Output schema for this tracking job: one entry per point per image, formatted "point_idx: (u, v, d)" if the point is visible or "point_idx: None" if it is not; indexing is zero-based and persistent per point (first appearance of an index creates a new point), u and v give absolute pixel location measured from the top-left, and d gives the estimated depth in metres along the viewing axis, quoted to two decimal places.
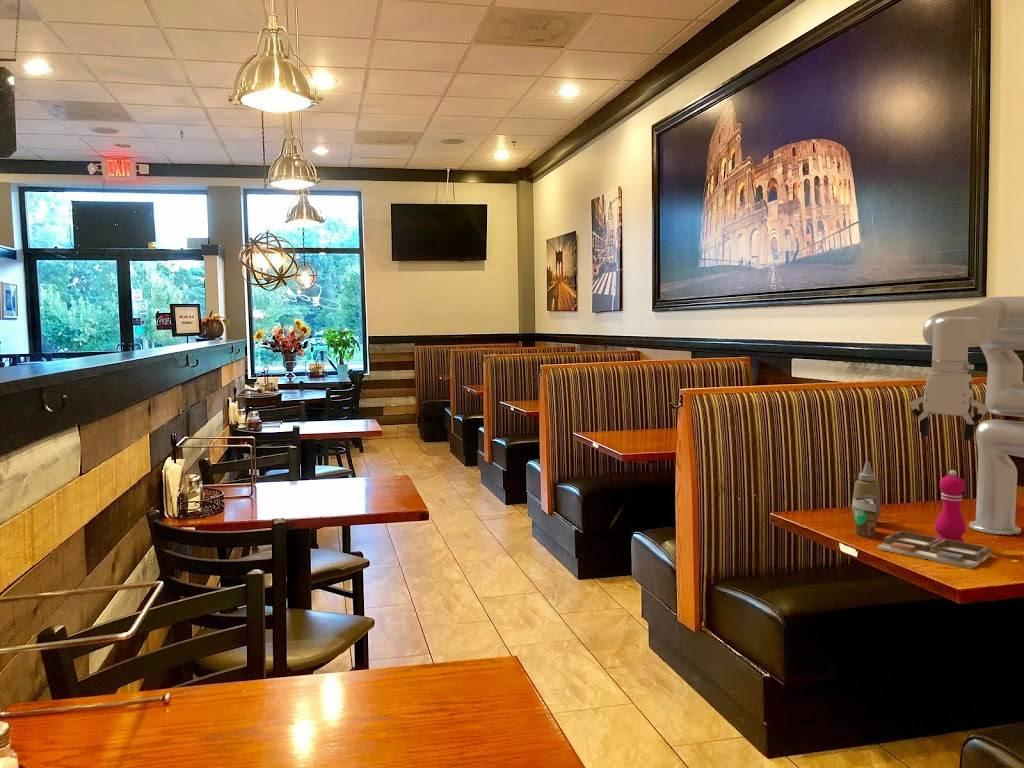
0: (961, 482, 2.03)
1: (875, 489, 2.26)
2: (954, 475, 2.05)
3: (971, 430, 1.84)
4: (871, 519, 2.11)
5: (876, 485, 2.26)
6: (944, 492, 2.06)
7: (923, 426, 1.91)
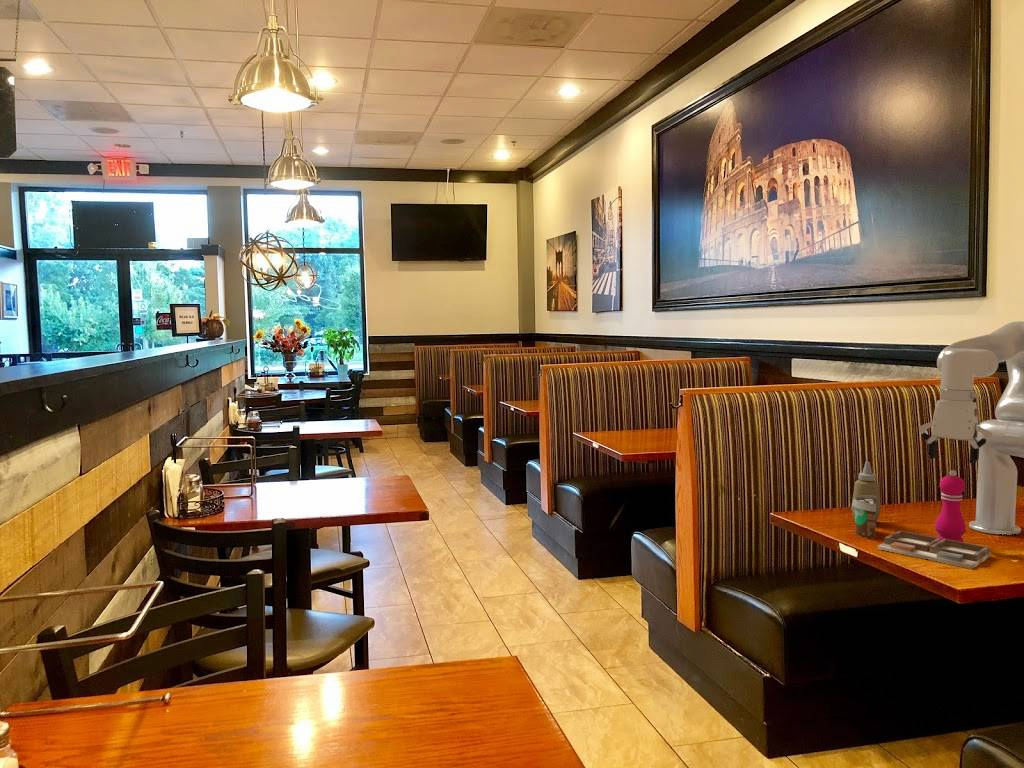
0: (961, 482, 2.03)
1: (875, 489, 2.26)
2: (954, 475, 2.05)
3: (976, 454, 2.00)
4: (871, 519, 2.11)
5: (876, 485, 2.26)
6: (944, 492, 2.06)
7: (931, 449, 2.07)
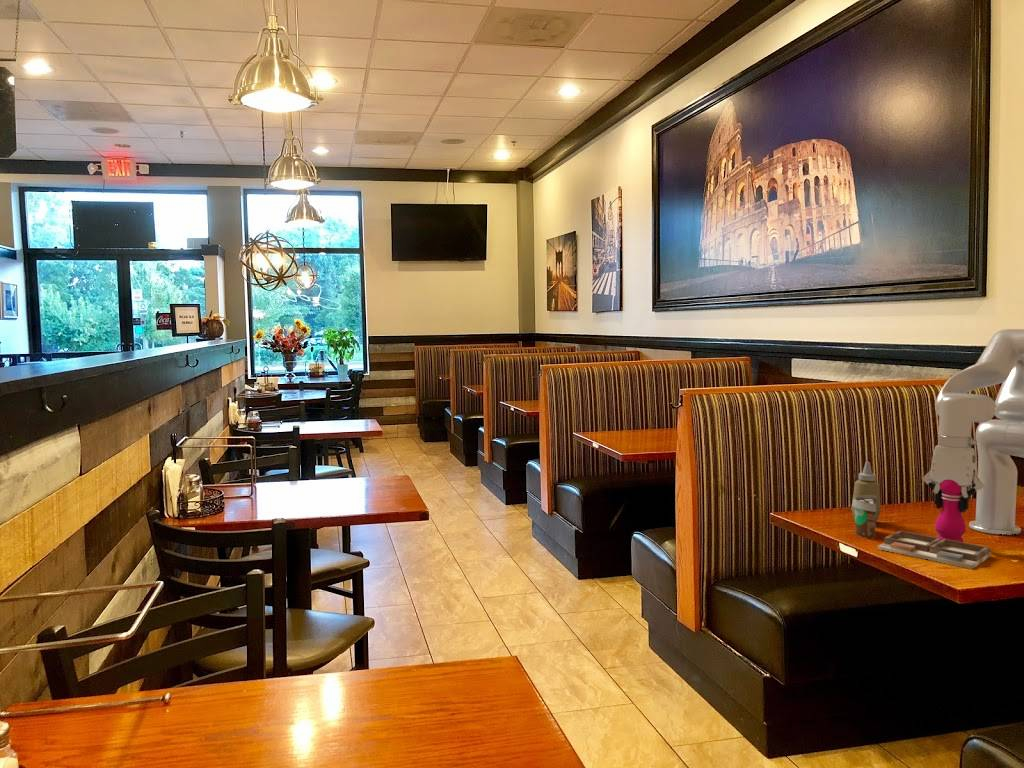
0: None
1: (875, 489, 2.26)
2: None
3: (966, 503, 2.03)
4: (871, 519, 2.11)
5: (876, 485, 2.26)
6: (944, 492, 2.06)
7: (938, 499, 2.07)
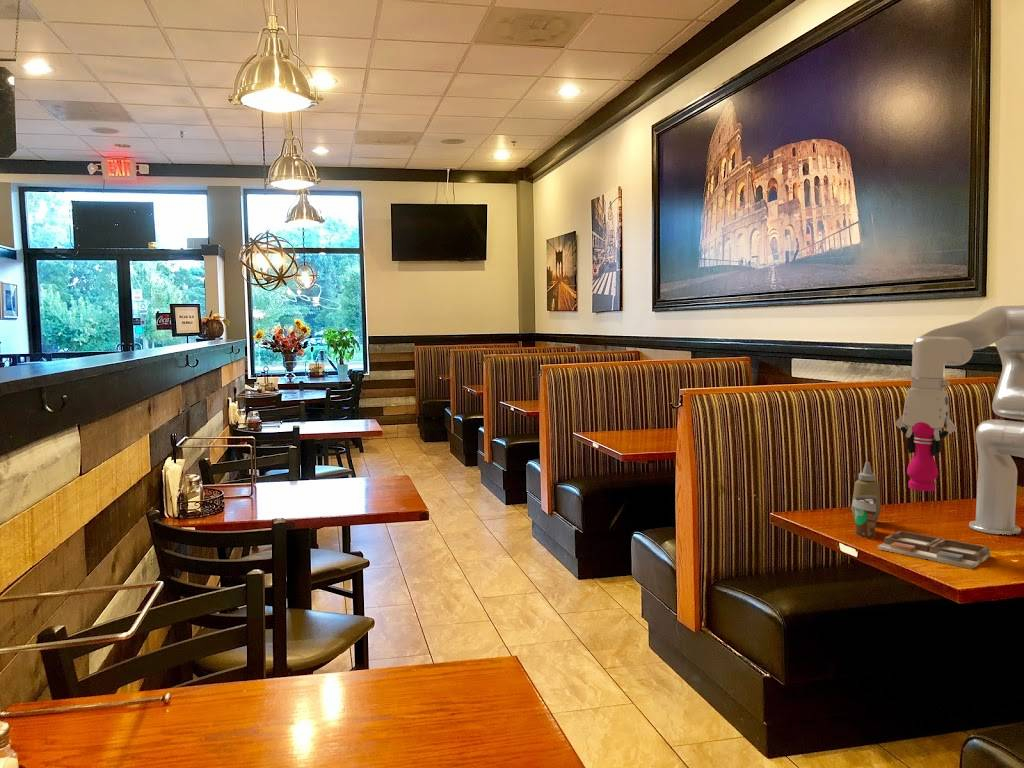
0: None
1: (875, 489, 2.26)
2: None
3: (938, 446, 1.99)
4: (871, 519, 2.11)
5: (876, 485, 2.26)
6: (916, 435, 2.01)
7: (910, 443, 2.03)
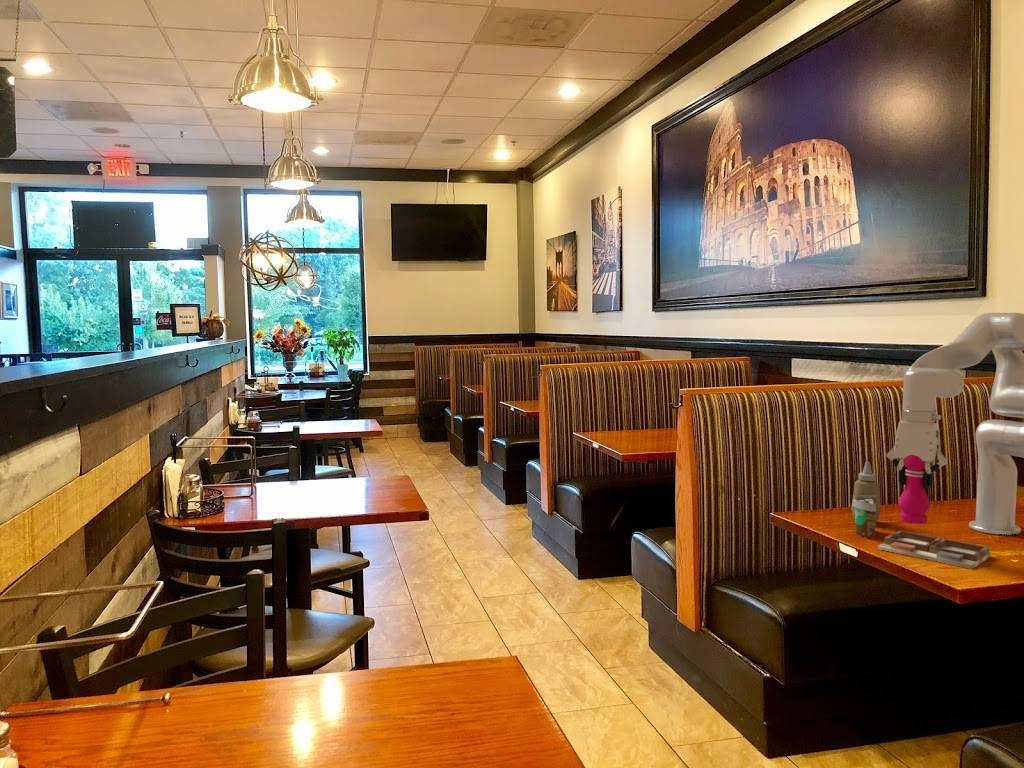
0: None
1: (875, 489, 2.26)
2: None
3: (929, 479, 1.99)
4: (871, 519, 2.11)
5: (876, 485, 2.26)
6: (908, 468, 2.01)
7: (902, 476, 2.03)
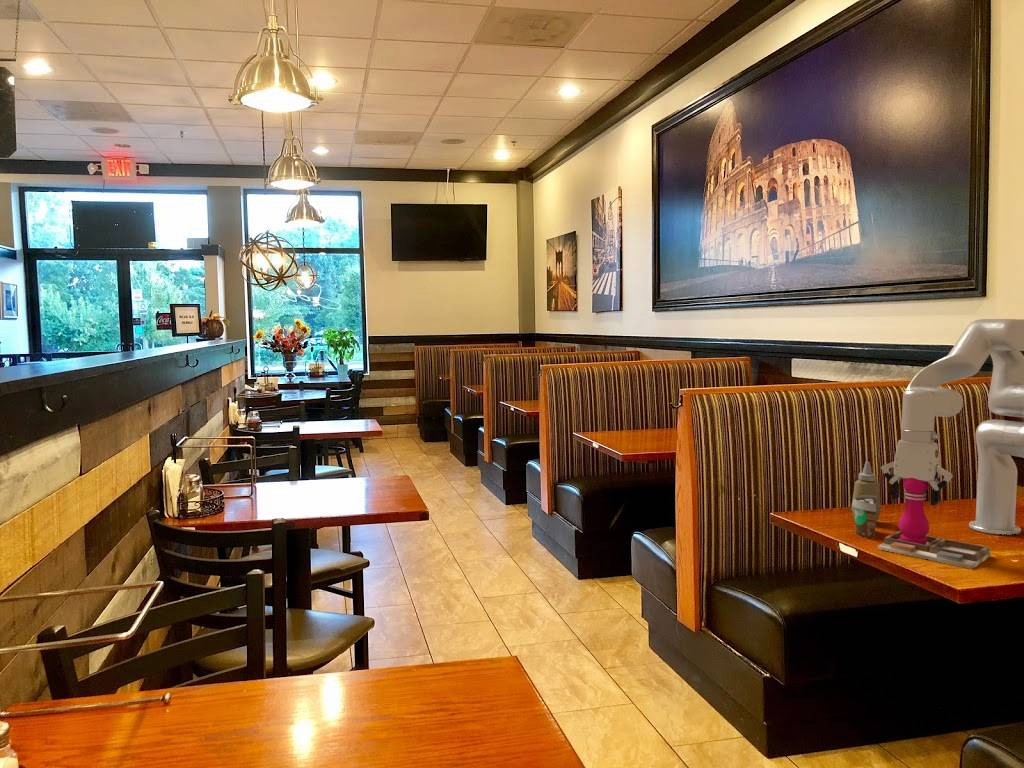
0: None
1: (875, 489, 2.26)
2: None
3: (937, 496, 1.98)
4: (871, 519, 2.11)
5: (876, 485, 2.26)
6: (907, 491, 2.02)
7: (894, 490, 2.05)
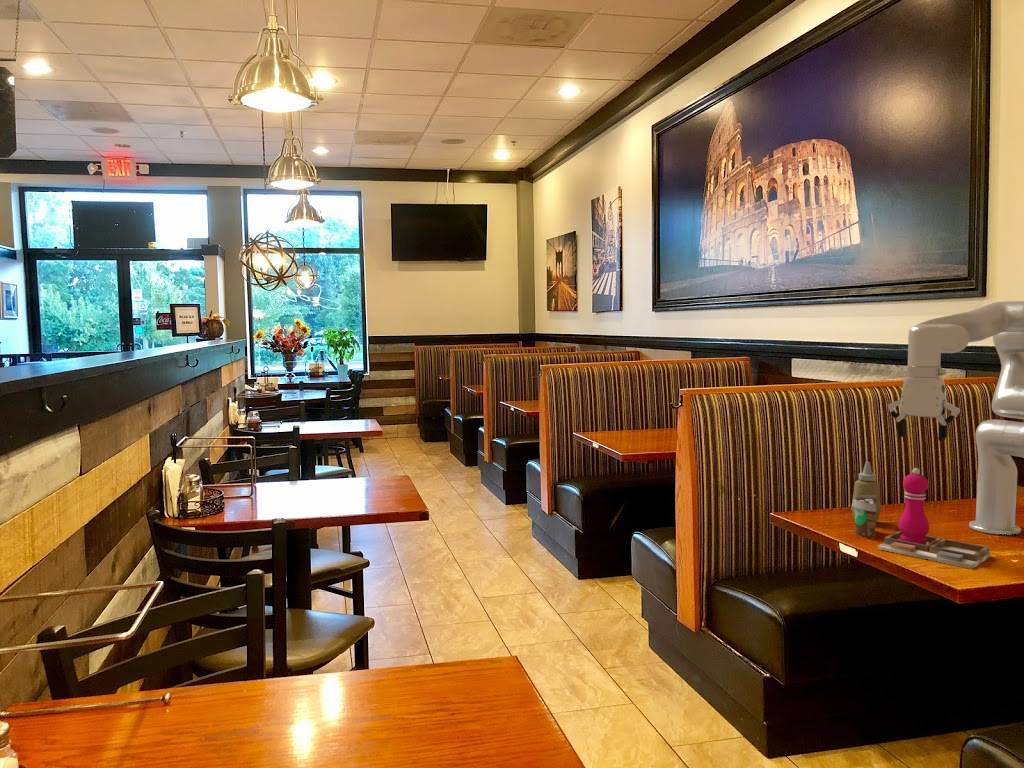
0: (924, 480, 2.00)
1: (875, 489, 2.26)
2: (917, 473, 2.01)
3: (944, 431, 1.97)
4: (871, 519, 2.11)
5: (876, 485, 2.26)
6: (907, 491, 2.02)
7: (900, 427, 2.04)
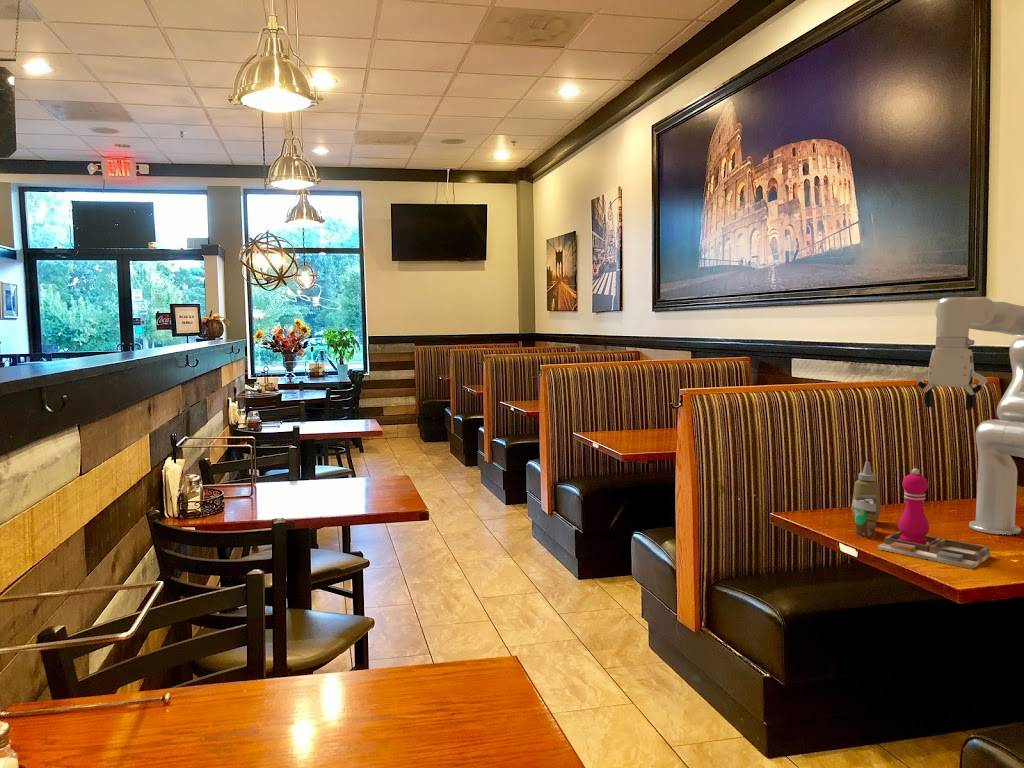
0: (923, 481, 2.00)
1: (875, 489, 2.26)
2: (916, 474, 2.01)
3: (972, 400, 2.01)
4: (871, 519, 2.11)
5: (876, 485, 2.26)
6: (907, 491, 2.02)
7: (928, 397, 2.08)
